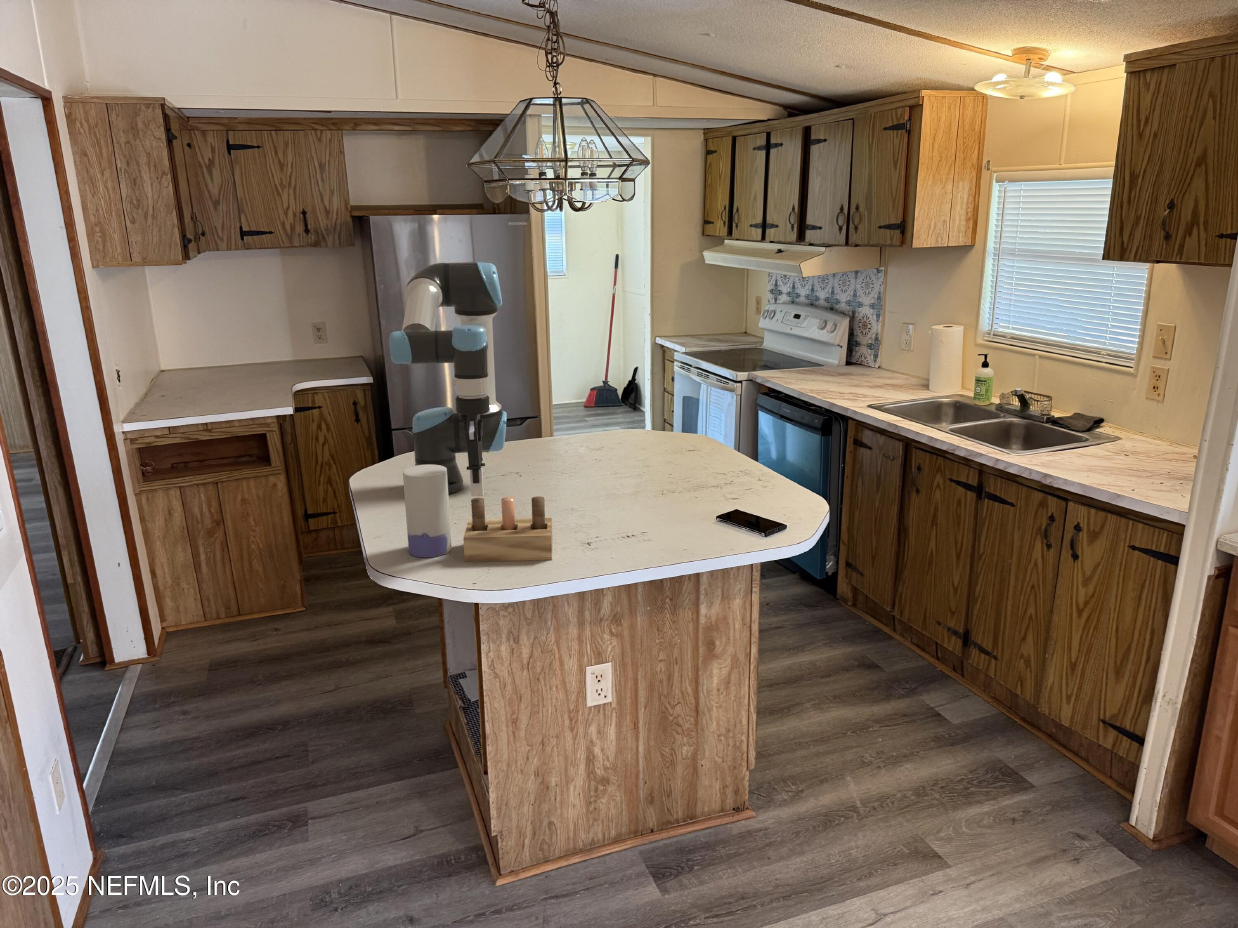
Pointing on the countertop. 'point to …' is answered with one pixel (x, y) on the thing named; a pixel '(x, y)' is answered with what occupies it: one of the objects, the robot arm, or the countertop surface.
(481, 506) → the walnut peg
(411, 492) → the container
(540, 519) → the walnut peg
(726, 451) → the countertop surface
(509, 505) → the terracotta peg
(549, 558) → the oak block
